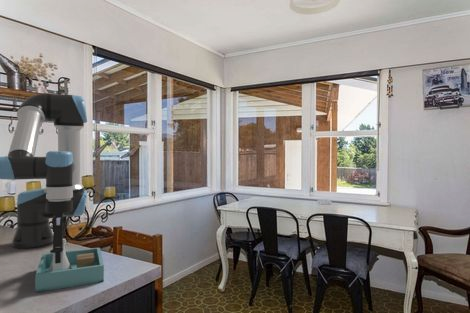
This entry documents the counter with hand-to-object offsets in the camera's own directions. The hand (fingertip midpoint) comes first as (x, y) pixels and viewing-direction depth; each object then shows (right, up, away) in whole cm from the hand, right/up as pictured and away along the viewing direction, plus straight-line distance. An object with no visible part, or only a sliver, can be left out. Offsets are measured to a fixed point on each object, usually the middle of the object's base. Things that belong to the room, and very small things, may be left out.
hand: (59, 265), depth 101 cm
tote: (+3, -4, +2) cm, 5 cm away
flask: (0, -3, 0) cm, 3 cm away
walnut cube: (+7, -3, +3) cm, 8 cm away
